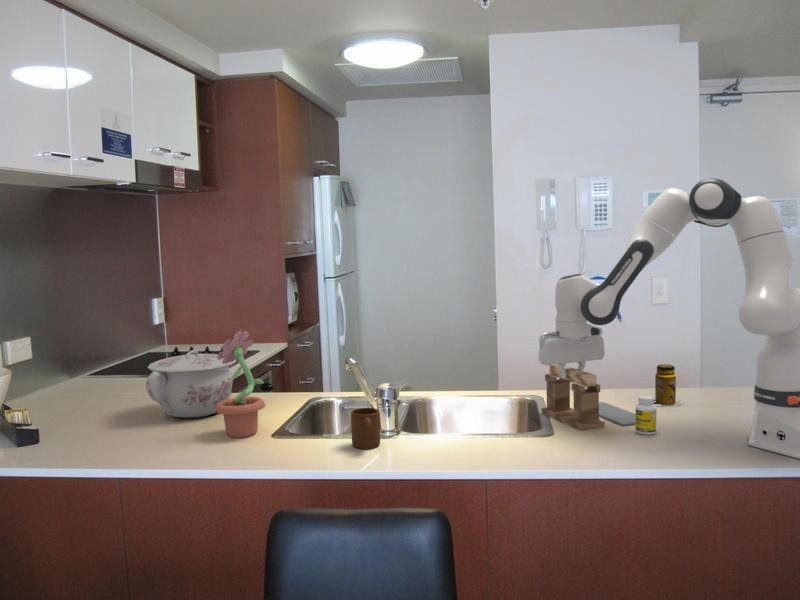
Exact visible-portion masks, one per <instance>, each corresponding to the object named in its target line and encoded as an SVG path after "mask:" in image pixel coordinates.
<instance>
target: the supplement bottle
mask: <svg viewBox="0 0 800 600" xmlns="http://www.w3.org/2000/svg"><path fill="white" fill-rule="evenodd" d="M654 397H655V396H651V395H639V396H638V397H637V398H638V399H637V401H638V403H637V404H636V405H635V414H636V422H635V425H634V427H635V428H634V429H635V432H636V433H637V434H641V435H648V436H649V435H650V436H651V435H655V434H656V433H657V406H655V405H653V403H654V400H655V399H654Z"/></svg>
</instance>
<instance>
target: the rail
mask: <svg viewBox="0 0 800 600" xmlns="http://www.w3.org/2000/svg"><path fill="white" fill-rule="evenodd" d="M548 367H549V374H550V375H553V376H555V377H556V378H558V379H559V378H562V375H561V371H560V369H559V368H558V364H554V365H548ZM564 368H565V370H566V372H569V378H566V379H565V380H568V381H571V382H570V383H573V384H574V383H575V384H578V385H581V386H584V387H585V388H587V387H590V386H596V384H597V375H596V374H593V373H591V372H588V371H584V370H583V371H581V370H577V369H578V368H573V367H570V366H567V365H566V367H564ZM562 379H564V378H562Z"/></svg>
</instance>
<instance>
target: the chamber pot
mask: <svg viewBox="0 0 800 600" xmlns="http://www.w3.org/2000/svg"><path fill="white" fill-rule="evenodd" d="M218 354H219V353H218ZM218 354H216V353H199V351H197V350H196V349H192V350H190V351H188V352H187V353H186V354H183V355H177V356H171V357H167V358H163V359H162V358H161V359H159V360H156V361H153V362H151V363H149V365H148V366H147V369H149V370H150V371H151V373H150V374H149V376H147V379H146V382H145V390H146V393H147V395H148V396H149V397H150V398H151V399H152V401H153V402H156V403H158V404H159V405H160V406H161V408H162V410H163V411H164V412H166V414H168V415H169V416H171V417H175V418H179V419H187V420H188V419H189V420H190V419H200V418H201V419H202V418H205V417H210V416H213V415H215V414H218V413H217V412H215V407H216V404H217V403H219V402H220V401H223V400H226V399H230V398H231V396H232V390H233V389H232V388H233V383H234V382H233V379H234V378H233V379H232V376H233V373H232V371H231V370H230V366H232V365H234V364H235V363H237V359H235V360H234V361H233V362H229V363H225V364H223V363H222V361H223V358H222V359H220V360H219V359H218ZM224 358H225V357H224Z"/></svg>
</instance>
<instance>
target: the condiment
mask: <svg viewBox="0 0 800 600" xmlns="http://www.w3.org/2000/svg"><path fill="white" fill-rule="evenodd" d="M675 369H676V368H675V365H672V364H658V365H657V366H656V373H655V377H654V378H655V383H654V384H655V387H654V388H655V389H654V390H655V394H654V397H655V399H654V401H656V402H654V403H653V405H655V406H656V407H665V406H666V407H668V406H669V405H671V406H680V405H682V404H680V403H679V402H676V401H677V400H676V396H677V395H676V391H677V390H676V389H677V376H676V371H675ZM657 404H659V405H657ZM660 404H661V405H660ZM674 404H676V405H674ZM677 404H678V405H677ZM667 405H668V406H667Z"/></svg>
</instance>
